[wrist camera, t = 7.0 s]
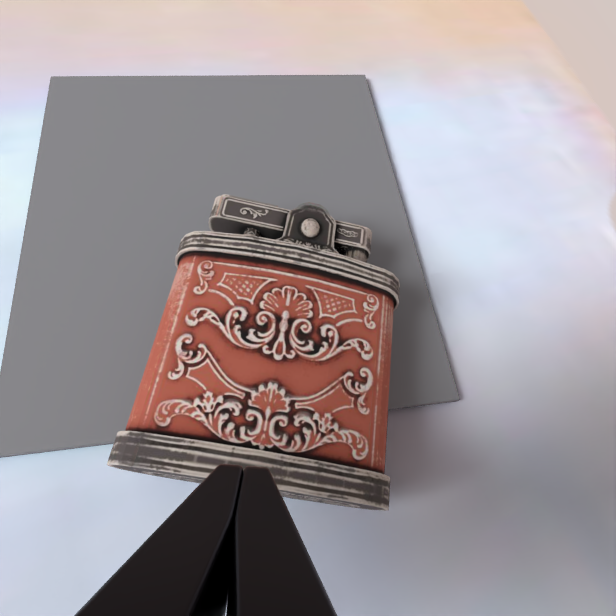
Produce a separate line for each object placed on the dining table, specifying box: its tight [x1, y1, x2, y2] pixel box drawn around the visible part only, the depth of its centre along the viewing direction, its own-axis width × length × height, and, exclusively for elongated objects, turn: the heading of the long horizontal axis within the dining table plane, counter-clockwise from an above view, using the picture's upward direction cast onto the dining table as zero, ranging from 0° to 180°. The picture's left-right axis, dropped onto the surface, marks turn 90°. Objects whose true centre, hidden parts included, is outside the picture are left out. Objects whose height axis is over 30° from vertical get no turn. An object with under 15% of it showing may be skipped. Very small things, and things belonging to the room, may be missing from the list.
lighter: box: [107, 194, 400, 511], centre depth 15 cm, size 8×3×10 cm
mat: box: [0, 75, 460, 458], centre depth 19 cm, size 18×16×1 cm
